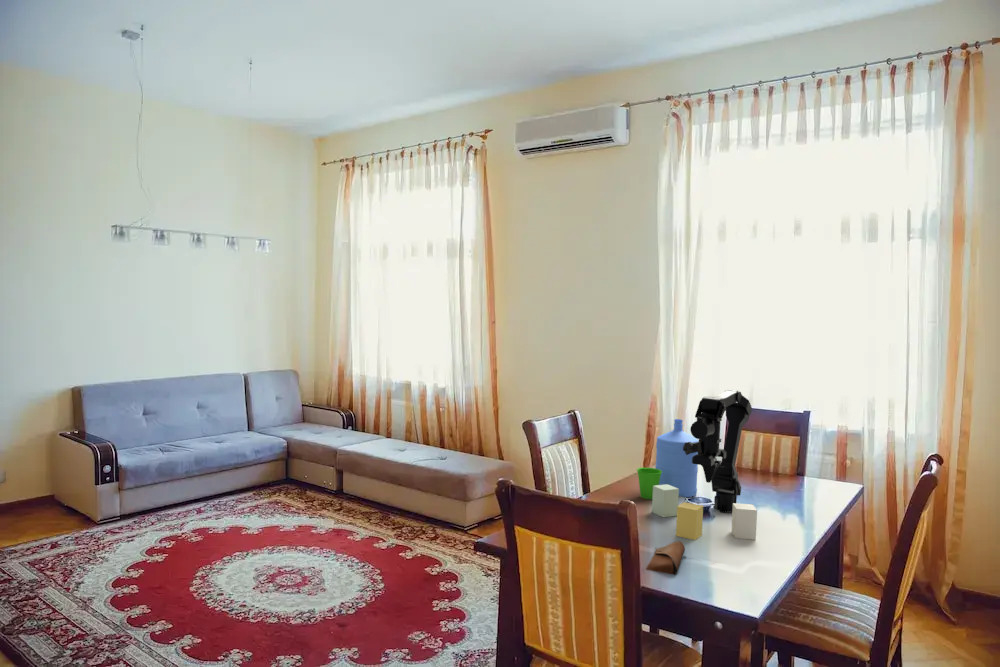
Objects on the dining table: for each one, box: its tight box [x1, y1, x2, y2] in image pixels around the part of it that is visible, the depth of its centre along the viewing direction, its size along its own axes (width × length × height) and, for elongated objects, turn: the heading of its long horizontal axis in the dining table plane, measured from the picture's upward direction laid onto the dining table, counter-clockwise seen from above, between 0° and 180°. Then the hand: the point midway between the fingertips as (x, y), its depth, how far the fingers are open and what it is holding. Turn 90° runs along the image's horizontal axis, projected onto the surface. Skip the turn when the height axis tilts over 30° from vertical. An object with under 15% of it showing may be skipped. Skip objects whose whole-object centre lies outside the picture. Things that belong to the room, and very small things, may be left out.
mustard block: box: [675, 501, 704, 541], centre depth 209 cm, size 6×6×9 cm
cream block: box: [731, 502, 758, 541], centre depth 210 cm, size 6×6×9 cm
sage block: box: [651, 484, 680, 518], centre depth 230 cm, size 6×6×9 cm
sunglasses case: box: [646, 540, 686, 576], centre depth 190 cm, size 18×7×7 cm
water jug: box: [654, 418, 699, 498], centre depth 261 cm, size 16×16×28 cm
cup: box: [636, 467, 662, 500], centre depth 250 cm, size 9×9×11 cm
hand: (708, 482), depth 227 cm, fingers closed
